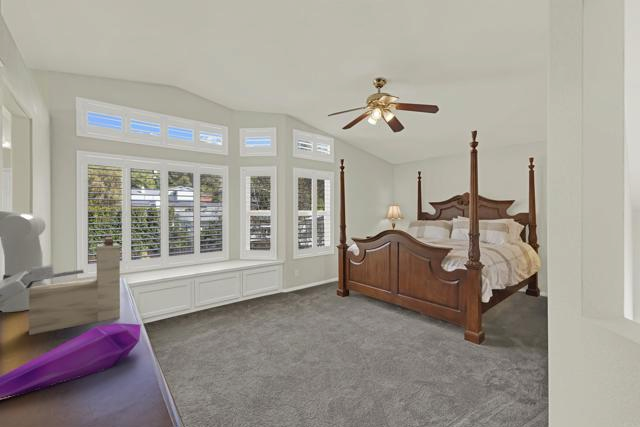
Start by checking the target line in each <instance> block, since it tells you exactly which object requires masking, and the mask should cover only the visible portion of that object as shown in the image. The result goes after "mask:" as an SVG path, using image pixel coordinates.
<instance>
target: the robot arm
mask: <svg viewBox="0 0 640 427" xmlns="http://www.w3.org/2000/svg"><path fill="white" fill-rule="evenodd" d="M45 229H46V222H45V220H44V218H42V217H41V216H40V215H38V214H36V213H31V212H30V213H29V212H24V211H23V212H22V211H15V210H14V211H13V210H6V209H0V242H1V246H2V251H3V255H4V257H3V258H4V274H3V275H2V279H1V280H0V310H1V311H2V312H1V313H14V312H22V311H27V310H28V311H29V290H30V289H31V287H36V286H44V285H49V283H47V282H46V281H45V279H44V280H38V281H33V280H35V279H36V278H38V277H40V276H41V275H43V272H42V270H38V271H36V272H34V273H32V274H31V269H32V267H39V266H44V265H43V261H44V260H43V250H42V246H41V241H40V240H41V239H40V236H41V234H43V232H44V231H45Z"/></svg>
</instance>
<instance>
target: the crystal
mask: <svg viewBox="0 0 640 427" xmlns="http://www.w3.org/2000/svg"><path fill="white" fill-rule="evenodd" d="M141 326H142V325H141V324H137V323H136V324H135V323H123V322H115V323H110V324H105V325H99V326H98V325H97V326H95V327H94V328H93V327H92V328H91V329H90V330H87V331H86V332H83V333H82V334H79V335H78V336H76V337H75V338H73V339H70V340H68V341H66V342H64V343H62V344H60V345H59V346H57V347H54V348H53V349H51V350H49V351H47V352H45V353H43V354H41V355H40V356H38V357H35V358H33V359H32V360H29V361H28V362H25V363H24V364H22V365H20V366H18V367H16V368H15V369H13V370H10V371H9V372H7V373H5V374H3V375H0V398H4V397H8V396H13V395H18V394H21V395H23V394H22V393H25V392H28V393H30V392H29V391H31V392H33V390H35V391H37V390H36V389H38V390H40V389H39V388H41V389H44V388H47V387H46V386H48V387H50V386H49V385H51V384H54V383H57V382H60V381H64V380H68V379H71V380H73V379H72V378H74V379H76V378H75V377H78V376H81V377H83V376H82V375H84V376H87V375H86V374H88V375H90V374H89V373H91V374H93V372H94V373H98V372H100V370H101V371H104V370H107V369H110V368H111V367H113V366H114V365H115V364H117V363H118V362H119V361H121V360H122V359H124V358H125V357H126V356H128V355H129V354H130V352H131V351H132V350H133V349H134V348H135V346H136V345H137V344H138V343H139V342H140V336H141ZM103 369H104V370H103ZM78 378H79V377H78ZM68 381H69V380H68ZM64 382H65V381H64ZM54 385H55V384H54ZM51 386H52V385H51ZM43 387H44V388H43ZM25 394H26V393H25ZM18 396H19V395H18Z"/></svg>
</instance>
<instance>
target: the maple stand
mask: <svg viewBox="0 0 640 427" xmlns="http://www.w3.org/2000/svg"><path fill="white" fill-rule="evenodd" d="M120 246H121V244H119V243H114V239H113V237H108V236H107V237H104V244H103V243H102V244H101V243H100V244H99V243H98V244H96V279H89V280H88V279H87V280H80V281H78V280H77V281H70V282H63V283H55V284H54V283H53V284H48V285H44V286H36V287H31V289H30V290H29V309H28V324H29V325H28V335H36V334H41V333H45V332H51V331H52V332H53V331H58V330H62V329H66V328H72V327H77V326H82V325H88V324H93V323H97V322H103V321H108V320H113V319H118V318H120V317H121V291H120V290H121V282H120V281H121V278H120V277H121V273H120V272H121V271H120V270H121V268H120V267H121V264H120V263H121V262H120V251H121V250H120V248H121V247H120Z"/></svg>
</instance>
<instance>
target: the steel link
mask: <svg viewBox="0 0 640 427" xmlns="http://www.w3.org/2000/svg"><path fill="white" fill-rule="evenodd" d="M38 270H42V272H43V275H41V276H40V277H38V278H36V279H35V280H33V281H38V280H44V281H45V280H49V279H53V278H60V277H65V276H66V277H67V276H73V275H81V274H84V272H85V271H84V269H75V270H71V271H69V270H68V271H63V272H57V273H54V266H53V264H48V265H43V266H39V267H32V269H31V274H32V273H34V272H36V271H38Z"/></svg>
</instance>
